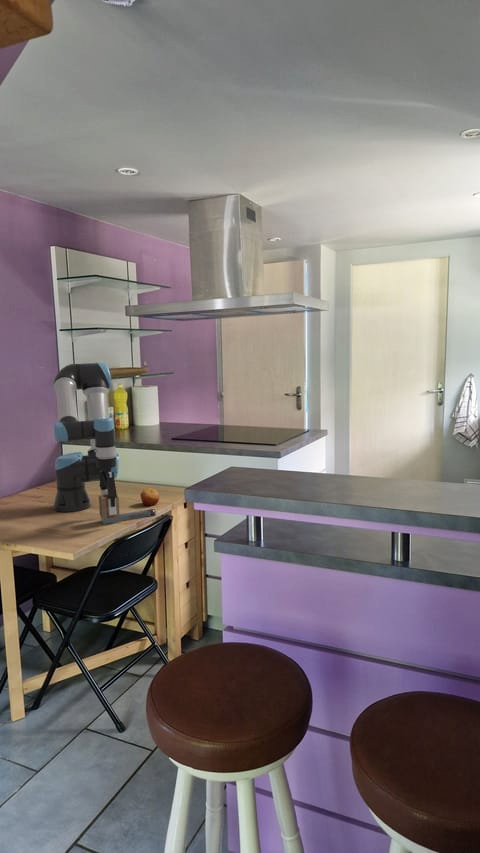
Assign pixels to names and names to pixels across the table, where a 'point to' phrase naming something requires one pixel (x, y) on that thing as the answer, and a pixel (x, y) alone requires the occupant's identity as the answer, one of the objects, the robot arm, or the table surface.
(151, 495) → the fruit
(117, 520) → the grey lever handle
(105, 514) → the socket collar
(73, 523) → the table surface
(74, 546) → the table surface
